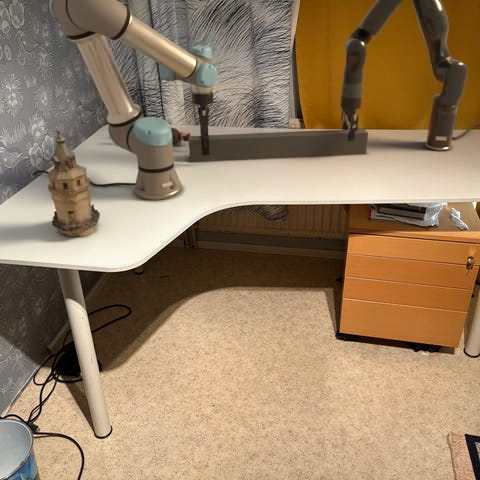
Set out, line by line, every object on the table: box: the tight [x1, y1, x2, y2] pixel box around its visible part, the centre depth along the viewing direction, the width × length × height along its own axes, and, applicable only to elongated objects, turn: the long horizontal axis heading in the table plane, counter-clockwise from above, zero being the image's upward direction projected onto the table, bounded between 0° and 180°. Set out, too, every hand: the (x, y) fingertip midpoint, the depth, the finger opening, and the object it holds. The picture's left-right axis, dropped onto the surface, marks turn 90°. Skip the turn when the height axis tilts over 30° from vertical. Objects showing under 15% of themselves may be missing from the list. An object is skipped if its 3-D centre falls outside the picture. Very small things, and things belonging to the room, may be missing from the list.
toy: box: [171, 127, 192, 147], centre depth 218 cm, size 26×6×30 cm
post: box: [188, 128, 369, 163], centre depth 204 cm, size 68×5×8 cm, turn 95°
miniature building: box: [46, 129, 101, 237], centre depth 148 cm, size 13×14×30 cm
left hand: (205, 148), depth 202 cm, fingers open, 13 cm apart
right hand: (347, 137), depth 205 cm, fingers open, 8 cm apart
